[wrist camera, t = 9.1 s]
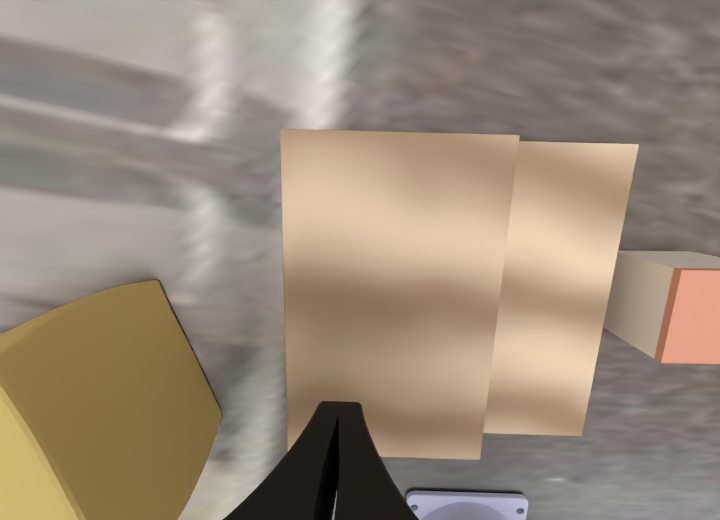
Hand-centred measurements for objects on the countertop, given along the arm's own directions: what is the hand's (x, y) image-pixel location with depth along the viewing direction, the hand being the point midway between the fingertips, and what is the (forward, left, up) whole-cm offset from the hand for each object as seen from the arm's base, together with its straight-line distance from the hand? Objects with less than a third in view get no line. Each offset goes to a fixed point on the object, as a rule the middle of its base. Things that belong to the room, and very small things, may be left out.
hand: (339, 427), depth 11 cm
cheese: (-4, +14, -10) cm, 17 cm away
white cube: (+2, -17, -5) cm, 18 cm away
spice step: (+2, -5, -9) cm, 11 cm away
